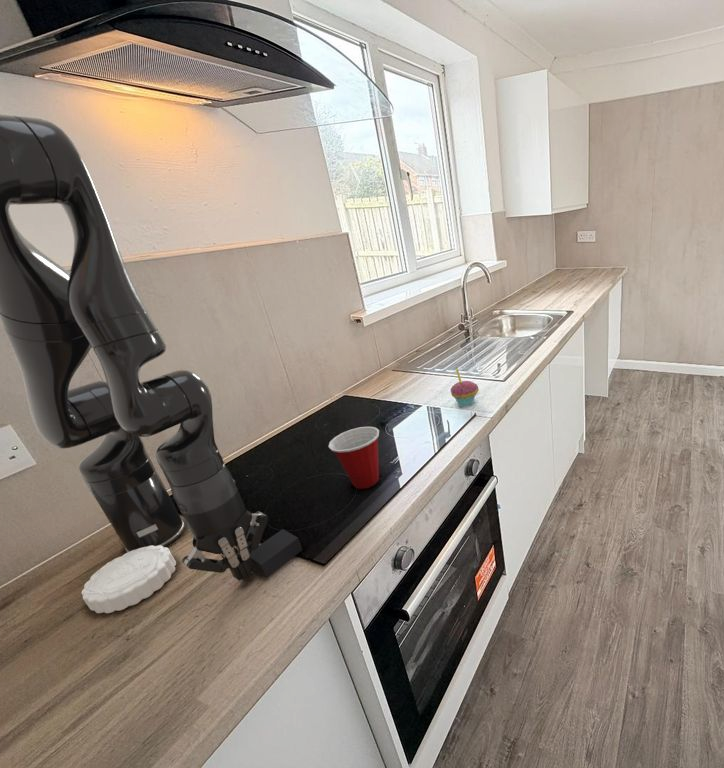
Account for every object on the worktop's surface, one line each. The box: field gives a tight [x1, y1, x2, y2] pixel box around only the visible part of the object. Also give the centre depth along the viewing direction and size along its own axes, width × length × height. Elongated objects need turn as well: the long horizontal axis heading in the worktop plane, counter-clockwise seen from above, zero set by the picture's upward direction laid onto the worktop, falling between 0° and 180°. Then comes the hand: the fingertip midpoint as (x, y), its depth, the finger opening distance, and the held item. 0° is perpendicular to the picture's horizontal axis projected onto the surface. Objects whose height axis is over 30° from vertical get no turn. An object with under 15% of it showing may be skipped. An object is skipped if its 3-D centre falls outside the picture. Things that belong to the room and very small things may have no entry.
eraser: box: [249, 528, 303, 578], centre depth 75 cm, size 5×7×3 cm
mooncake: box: [81, 545, 177, 614], centre depth 72 cm, size 12×12×4 cm
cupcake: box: [450, 366, 480, 407], centre depth 126 cm, size 9×8×12 cm
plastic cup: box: [328, 426, 380, 490], centre depth 93 cm, size 11×11×12 cm
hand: (245, 576), depth 71 cm, fingers closed
